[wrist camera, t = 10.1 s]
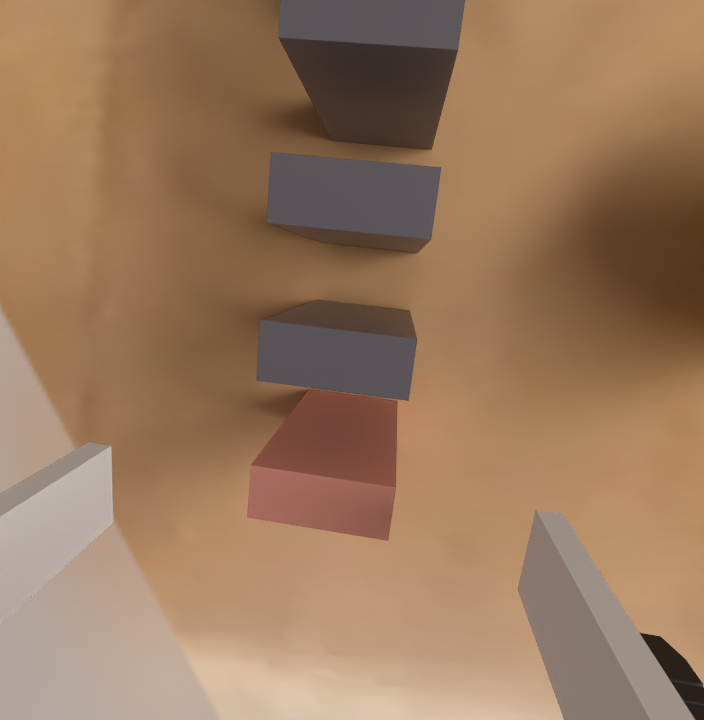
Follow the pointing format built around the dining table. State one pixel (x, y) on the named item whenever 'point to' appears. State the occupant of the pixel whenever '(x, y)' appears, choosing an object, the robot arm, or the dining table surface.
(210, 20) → the dining table surface
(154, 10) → the dining table surface
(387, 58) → the domino
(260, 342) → the domino
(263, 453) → the domino
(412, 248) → the domino
